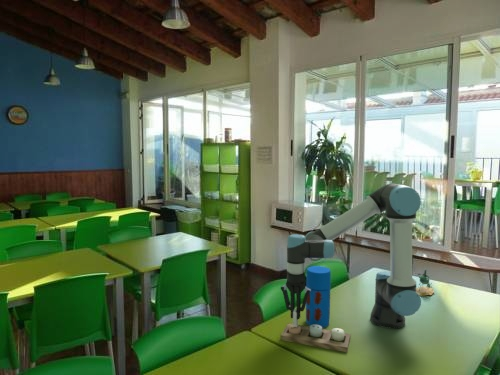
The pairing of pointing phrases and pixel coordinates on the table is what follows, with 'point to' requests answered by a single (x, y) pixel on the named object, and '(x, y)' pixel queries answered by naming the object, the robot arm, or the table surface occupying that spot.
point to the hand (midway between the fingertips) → (295, 325)
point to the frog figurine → (423, 290)
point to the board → (316, 339)
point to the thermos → (318, 296)
